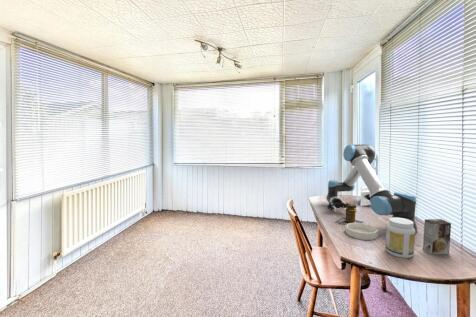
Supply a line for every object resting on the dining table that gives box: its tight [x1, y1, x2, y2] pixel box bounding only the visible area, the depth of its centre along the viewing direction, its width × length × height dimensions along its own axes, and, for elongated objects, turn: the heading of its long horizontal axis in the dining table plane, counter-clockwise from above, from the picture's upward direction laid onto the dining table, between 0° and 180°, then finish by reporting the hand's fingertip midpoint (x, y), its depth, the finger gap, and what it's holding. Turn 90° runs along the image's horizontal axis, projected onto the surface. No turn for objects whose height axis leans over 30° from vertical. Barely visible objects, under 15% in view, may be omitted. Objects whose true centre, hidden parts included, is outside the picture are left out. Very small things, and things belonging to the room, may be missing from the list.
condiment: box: [340, 203, 358, 224], centre depth 171 cm, size 7×8×12 cm
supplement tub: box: [385, 217, 416, 259], centre depth 126 cm, size 12×12×17 cm
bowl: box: [344, 222, 379, 241], centre depth 151 cm, size 17×17×4 cm
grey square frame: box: [334, 216, 364, 226], centre depth 171 cm, size 14×14×1 cm
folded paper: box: [360, 185, 371, 207], centre depth 217 cm, size 17×24×17 cm
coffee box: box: [422, 218, 452, 255], centre depth 128 cm, size 9×6×16 cm
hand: (345, 210), depth 177 cm, fingers open, 13 cm apart
